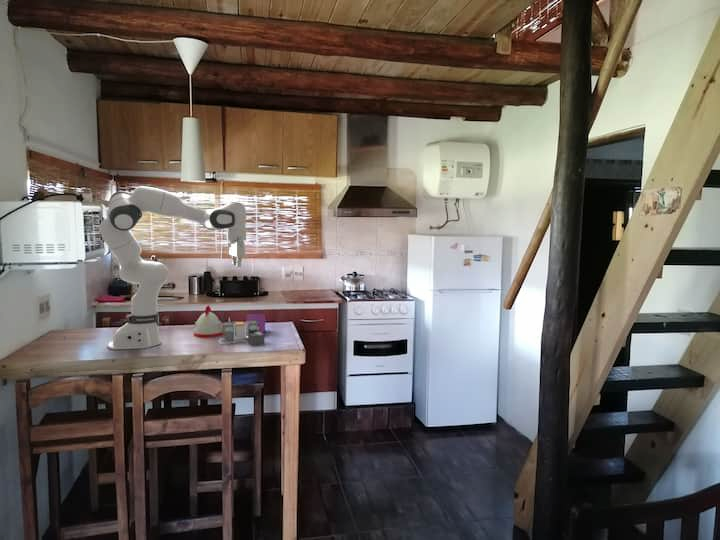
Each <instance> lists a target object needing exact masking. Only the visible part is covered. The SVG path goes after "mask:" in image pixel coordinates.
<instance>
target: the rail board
mask: <svg viewBox="0 0 720 540" xmlns="http://www.w3.org/2000/svg"><path fill="white" fill-rule="evenodd" d="M221 325H222V335H221V337H219V339H217V343H218V344H219V345H220V344H221V345H231V343H233V344H243V343H248V334H251V333H254V332H258V323H257V322H256V321H245V338H243V339H236V338H235V325H234V322H221Z"/></svg>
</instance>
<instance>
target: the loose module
mask: <svg viewBox="0 0 720 540" xmlns="http://www.w3.org/2000/svg"><path fill="white" fill-rule="evenodd" d="M233 324H234V337H235V338H236V339H243V338H245V336H246V322H244V321H239V322H238V321H236V322H233Z"/></svg>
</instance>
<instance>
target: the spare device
mask: <svg viewBox="0 0 720 540" xmlns="http://www.w3.org/2000/svg"><path fill="white" fill-rule="evenodd" d="M247 344H249V346H252V347H256V346H264V345H265V333H264V334H262V333H260V332H254V333H251V334H248V342H247Z"/></svg>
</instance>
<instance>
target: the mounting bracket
mask: <svg viewBox="0 0 720 540" xmlns="http://www.w3.org/2000/svg"><path fill="white" fill-rule="evenodd" d="M246 321H256V322H257V323H258V332H260V333H262V334H264V335H265V333H266V313H247V314H246ZM246 321H245V322H246Z"/></svg>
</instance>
